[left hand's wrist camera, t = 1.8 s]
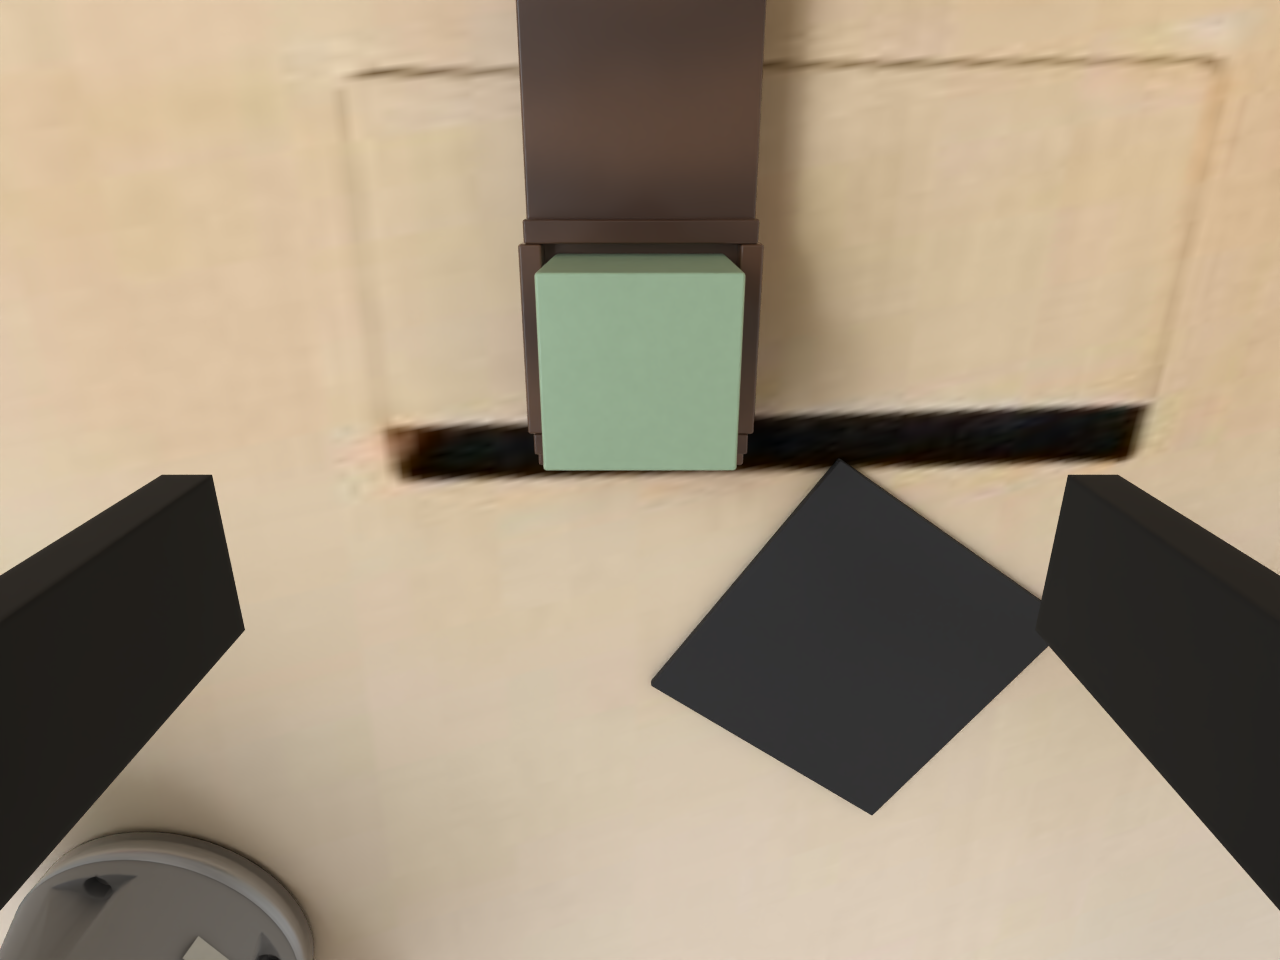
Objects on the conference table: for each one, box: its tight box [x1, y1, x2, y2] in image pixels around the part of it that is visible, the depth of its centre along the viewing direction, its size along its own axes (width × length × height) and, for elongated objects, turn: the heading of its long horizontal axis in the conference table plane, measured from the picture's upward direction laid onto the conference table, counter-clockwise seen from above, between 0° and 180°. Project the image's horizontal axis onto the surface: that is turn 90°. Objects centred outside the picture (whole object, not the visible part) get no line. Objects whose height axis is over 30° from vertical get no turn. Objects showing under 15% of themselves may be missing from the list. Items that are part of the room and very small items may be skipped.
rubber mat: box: [651, 458, 1049, 815], centre depth 37 cm, size 14×14×1 cm
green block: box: [535, 254, 745, 470], centre depth 26 cm, size 6×6×6 cm
